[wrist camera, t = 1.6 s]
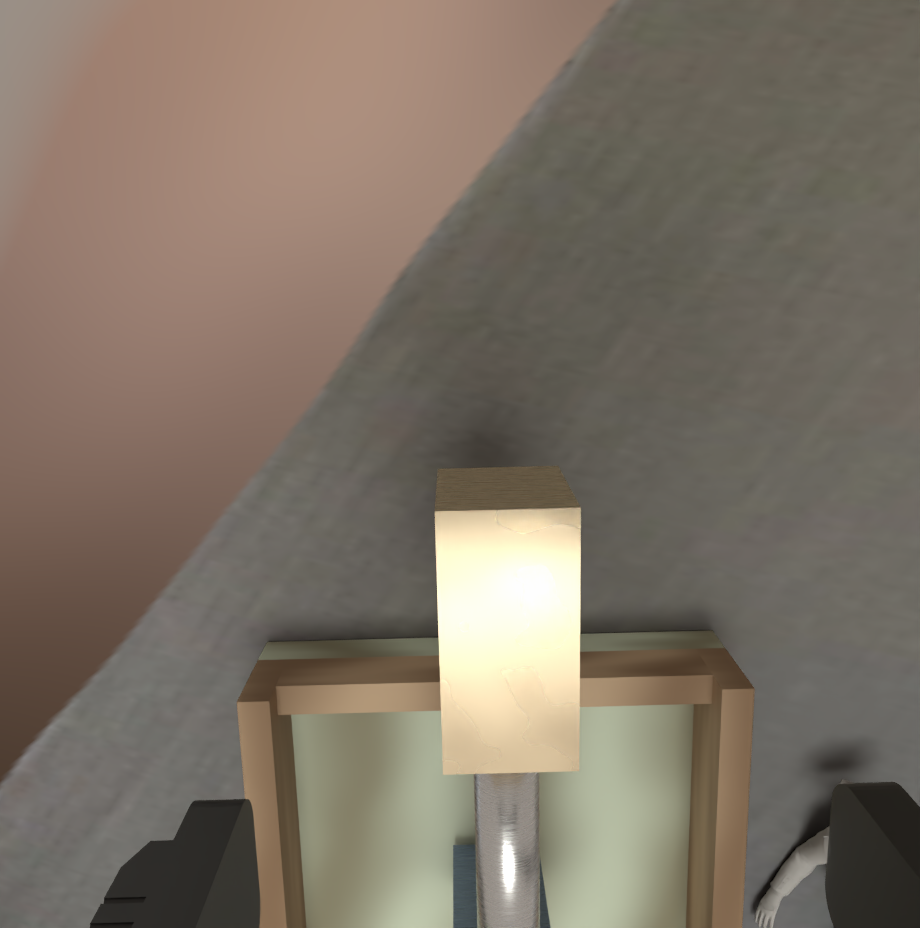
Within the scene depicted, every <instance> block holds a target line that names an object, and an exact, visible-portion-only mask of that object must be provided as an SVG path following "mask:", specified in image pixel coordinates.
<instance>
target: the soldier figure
mask: <svg viewBox="0 0 920 928" xmlns="http://www.w3.org/2000/svg"><path fill="white" fill-rule="evenodd" d="M841 781H842V782H841V783H839V784H845V783H853V782H850V781H847V780H844V779H841ZM829 827H830V826H829ZM829 827H827V828H826V829H825V830H823V831H820V832H818V833H817V834H816V836H814V837H812V838H810V839H809V840H807V841H806V842H805V843H803V844H802V845H800V846H798V847H797V848H796V850H795V851H794V852H793V853H792V854H791V856H790V857H789V858H788V859H787V860H786V861H785V863H784V864H783V865H782V867H781V868H780V870H779V871H778V873H777V875H776V876H775V878H774V880H773V881H772V882H771V883H770V885H771V887H770V889H768V891H767V892H766V895H765V896H764V897H763V898H762V899H761V900H760V903H759V905H758V908H757V911H756V914H755V922H756V923H757V922H758V926H759V927H761V925H762V920H763V917H764V915H765V917H764V921H763V928H766V926H767V922H768V920H769V918H770V922H769V926H770V928H773V923H774V918H775V915H776V912H777V910H778V908H779V905H780V902H781V899H782V898H783V897H784V895H785V896H788V895H789V894H790V893H791V891H792V890H793V889H794V888H795V887H796V886H797V885H798V884H799V883H800V881H801V880H802V879H804V878H805V877H807V876H808V875H809V874H810V873H811V872H812V871H813V870H814V868H815V867H816V866H817V865H820V864H821V865H822V864H826V863H827V853H828V840H829ZM758 918H759V920H758Z"/></svg>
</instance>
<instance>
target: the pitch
mask: <svg viewBox="0 0 920 928" xmlns="http://www.w3.org/2000/svg"><path fill="white" fill-rule="evenodd" d="M754 691H755V689H754V687H753V686H752V684H751V683H750V682H749V680H748V679H747V678H746V676H745V675H744V673H743V672H742V671H741V669H740V668H739V667H738V665H737V664H736V662H735V661H734V660H733V658H732V657H731V656H730V654H729V653H728V651H727V650H726V649H725V647H724V646H723V645H722V643H721V642H720V640H719V639H718V638H717V636H716V635H715V634H714V632H713V631H712V630H711V631H673V632H634V633H595V634H580V736H579V771H569V772H539V853H540V860H541V867H542V874H543V880H544V887H545V894H546V900H547V907H548V914H549V920H550V927H551V928H742V920H743V901H744V882H745V863H746V844H747V825H748V806H749V787H750V767H751V748H752V729H753V710H754ZM237 710H238V722H239V733H240V745H241V757H242V768H243V780H244V792H245V799H249V800H250V802H251V805H252V809H253V816H254V828H255V840H256V852H257V864H258V876H259V888H260V925H259V928H453V845H474V844H475V805H474V774H455V775H443V760H442V728H441V696H440V664H439V638H402V639H363V640H324V641H286V642H267V643H266V645H265V647H264V649H263V651H262V653H261V655H260V657H259V659H258V661H257V663H256V665H255V667H254V669H253V671H252V673H251V675H250V677H249V679H248V681H247V683H246V685H245V687H244V689H243V691H242V693H241V695H240V697H239V699H238V701H237Z"/></svg>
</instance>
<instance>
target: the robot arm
mask: <svg viewBox="0 0 920 928" xmlns="http://www.w3.org/2000/svg"><path fill="white" fill-rule="evenodd" d="M825 889H826V899H827V905H828V909H829V913H830V917H831V920H832V923H833V925H834V928H920V807H919V806H918V805H917V804H916V802H915V801H914V800H913V799H912V798H911V797H910V796H909V794H908V793H907V792H906V791H905V790H904V789H903V788H902V787H901V786H900V785H899V784H897V783H895V782H879V783H845V784H838V785H837V786H836V787H835V789H834V791H833V795H832V802H831V814H830V827H829V840H828V853H827V866H826V879H825ZM259 925H260V888H259V876H258V864H257V852H256V840H255V828H254V816H253V809H252V805H251V802H250V800H249V799H233V800H198V801H194V802H193V803H192V804H191V805H190V807H189V809H188V811H187V813H186V815H185V817H184V819H183V821H182V824H181V826H180V828H179V830H178V832H177V834H176V836H175V838H174V840H169V841H150V842H149V843H148V844H147V845H146V846H145V847H143V848H142V849H141V850H140V851H139V852H138V853H137V854H136V855H134V856H133V857H132V858H131V859H130V860H129V861H128V862H127V863H125V864H124V865H123V866H122V867H121V868H120V870H119V872H118V874H117V876H116V877H115V879H114V881H113V883H112V885H111V887H110V888H109V890H108V892H107V894H106V896H105V898H104V904H101V905H100V907H99V909H98V910H97V912H96V914H95V916H94V918H93V920H92V921H91V923H90V928H259Z"/></svg>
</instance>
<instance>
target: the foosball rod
mask: <svg viewBox="0 0 920 928" xmlns="http://www.w3.org/2000/svg"><path fill="white" fill-rule="evenodd" d="M435 536H436V568H437V600H438V632H439V664H440V696H441V728H442V760H443V775H455V774H474V805H475V844H474V845H453V928H551V927H550V920H549V914H548V907H547V900H546V894H545V887H544V880H543V874H542V867H541V860H540V853H539V772H569V771H579V736H580V564H581V507H580V505H579V504H578V502H577V500H576V498H575V496H574V494H573V493H572V491H571V489H570V487H569V485H568V483H567V482H566V480H565V478H564V476H563V474H562V473H561V471H560V469H559V467H558V466H531V467H491V468H452V469H438V475H437V488H436V501H435Z"/></svg>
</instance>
